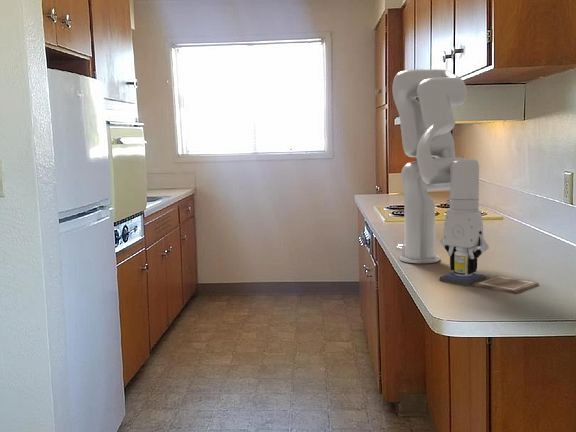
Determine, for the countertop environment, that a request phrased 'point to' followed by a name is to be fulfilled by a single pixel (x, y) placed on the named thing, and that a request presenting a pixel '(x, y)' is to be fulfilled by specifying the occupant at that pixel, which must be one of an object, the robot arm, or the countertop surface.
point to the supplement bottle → (461, 262)
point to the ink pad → (462, 279)
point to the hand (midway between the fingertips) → (463, 270)
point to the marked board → (506, 284)
